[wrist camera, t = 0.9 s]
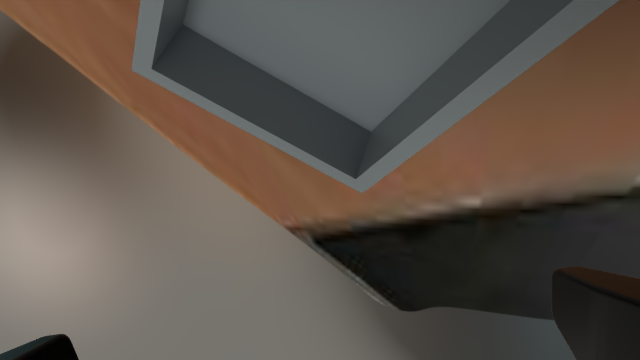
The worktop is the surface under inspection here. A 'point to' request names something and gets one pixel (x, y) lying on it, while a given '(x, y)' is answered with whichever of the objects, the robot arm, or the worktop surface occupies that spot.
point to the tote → (348, 68)
